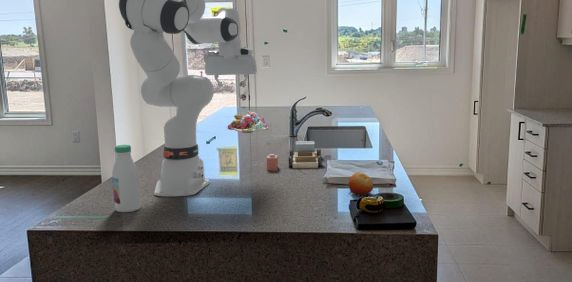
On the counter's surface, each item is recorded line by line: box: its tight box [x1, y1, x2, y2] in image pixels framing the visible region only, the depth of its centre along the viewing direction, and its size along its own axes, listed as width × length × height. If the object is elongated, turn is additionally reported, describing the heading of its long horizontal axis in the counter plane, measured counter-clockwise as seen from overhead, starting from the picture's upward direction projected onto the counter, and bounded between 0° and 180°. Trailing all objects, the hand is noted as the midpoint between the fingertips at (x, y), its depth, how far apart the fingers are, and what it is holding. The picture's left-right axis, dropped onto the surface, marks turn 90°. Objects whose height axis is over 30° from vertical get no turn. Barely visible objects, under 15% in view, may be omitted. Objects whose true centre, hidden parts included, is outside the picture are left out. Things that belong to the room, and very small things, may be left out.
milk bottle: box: [111, 144, 142, 213], centre depth 157 cm, size 8×8×20 cm
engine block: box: [266, 153, 279, 171], centre depth 203 cm, size 5×4×6 cm
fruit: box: [348, 172, 374, 197], centre depth 168 cm, size 8×8×8 cm
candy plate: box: [227, 110, 269, 133], centre depth 297 cm, size 25×24×9 cm
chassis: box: [288, 140, 323, 169], centre depth 212 cm, size 20×13×7 cm, turn 178°
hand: (231, 86), depth 203 cm, fingers open, 8 cm apart
